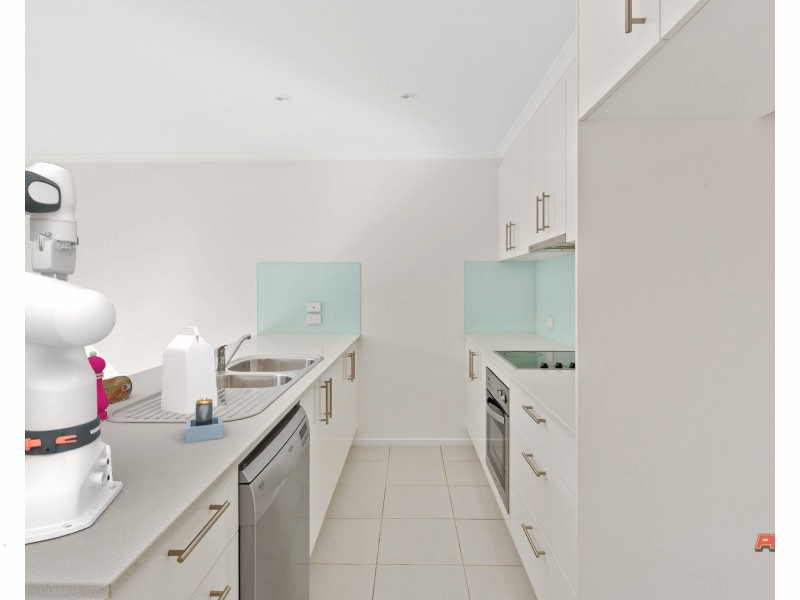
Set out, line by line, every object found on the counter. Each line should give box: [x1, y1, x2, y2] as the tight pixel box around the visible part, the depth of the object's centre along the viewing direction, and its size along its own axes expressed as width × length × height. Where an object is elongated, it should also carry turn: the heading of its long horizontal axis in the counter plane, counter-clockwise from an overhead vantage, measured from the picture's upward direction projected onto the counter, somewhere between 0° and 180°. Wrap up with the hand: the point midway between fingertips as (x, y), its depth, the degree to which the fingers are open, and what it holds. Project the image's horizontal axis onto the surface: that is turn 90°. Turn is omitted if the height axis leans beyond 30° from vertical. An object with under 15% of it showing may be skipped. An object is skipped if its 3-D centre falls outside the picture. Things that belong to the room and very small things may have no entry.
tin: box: [102, 375, 133, 405], centre depth 147 cm, size 15×3×8 cm, turn 167°
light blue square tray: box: [185, 415, 224, 444], centre depth 115 cm, size 8×8×4 cm
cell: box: [195, 398, 214, 426], centre depth 115 cm, size 4×4×9 cm
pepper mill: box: [87, 350, 110, 421], centre depth 128 cm, size 7×7×20 cm
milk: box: [160, 325, 219, 415], centre depth 141 cm, size 12×12×26 cm
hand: (55, 293), depth 105 cm, fingers open, 8 cm apart
